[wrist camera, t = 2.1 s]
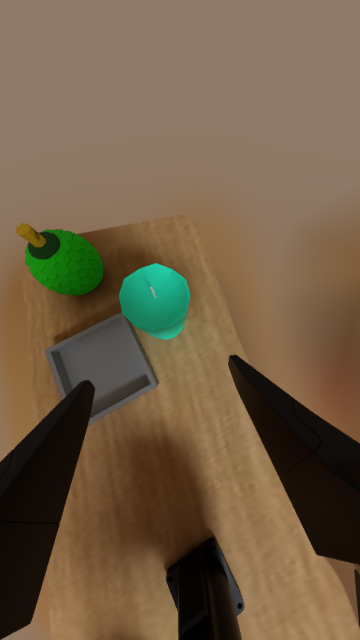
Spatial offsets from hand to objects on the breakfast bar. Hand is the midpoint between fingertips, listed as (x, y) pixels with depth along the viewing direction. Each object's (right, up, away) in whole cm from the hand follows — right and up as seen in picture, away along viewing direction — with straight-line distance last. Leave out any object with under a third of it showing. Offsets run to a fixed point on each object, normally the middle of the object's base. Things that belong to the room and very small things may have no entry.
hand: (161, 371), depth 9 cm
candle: (-1, +3, +13) cm, 14 cm away
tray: (-9, -3, +11) cm, 15 cm away
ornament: (-14, +10, +14) cm, 22 cm away
